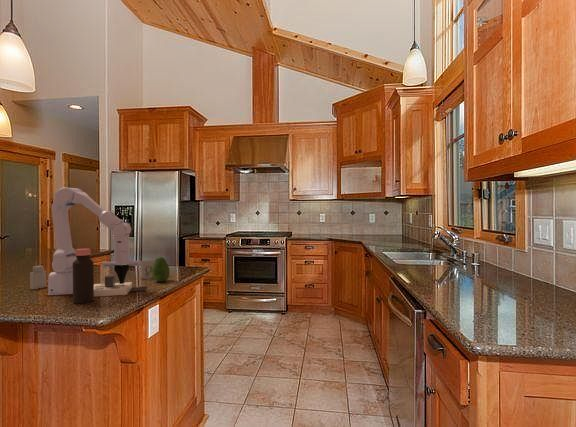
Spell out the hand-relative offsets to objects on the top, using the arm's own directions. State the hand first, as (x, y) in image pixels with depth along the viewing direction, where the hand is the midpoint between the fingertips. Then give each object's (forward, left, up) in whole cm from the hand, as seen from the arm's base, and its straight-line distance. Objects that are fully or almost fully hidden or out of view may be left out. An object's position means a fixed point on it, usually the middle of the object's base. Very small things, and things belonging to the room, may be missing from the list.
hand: (122, 283), depth 139 cm
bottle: (-11, -13, -4) cm, 17 cm away
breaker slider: (-5, 0, -1) cm, 5 cm away
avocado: (+14, +15, -4) cm, 21 cm away
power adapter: (-37, +16, -4) cm, 41 cm away
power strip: (-1, 0, -4) cm, 4 cm away
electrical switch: (+8, +26, -4) cm, 27 cm away
